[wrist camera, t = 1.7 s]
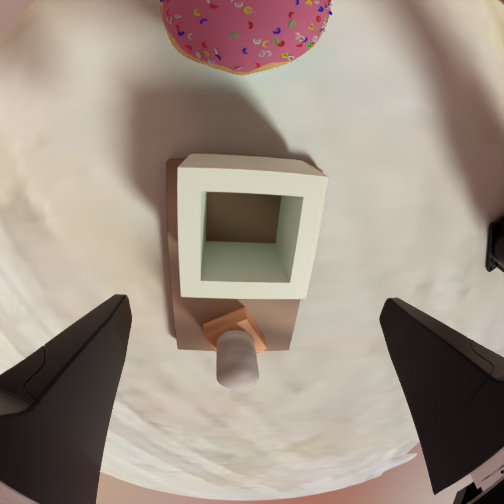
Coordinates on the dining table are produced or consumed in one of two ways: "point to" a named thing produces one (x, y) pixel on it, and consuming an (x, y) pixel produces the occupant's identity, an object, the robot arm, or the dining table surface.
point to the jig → (222, 309)
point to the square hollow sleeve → (244, 253)
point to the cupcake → (244, 31)
